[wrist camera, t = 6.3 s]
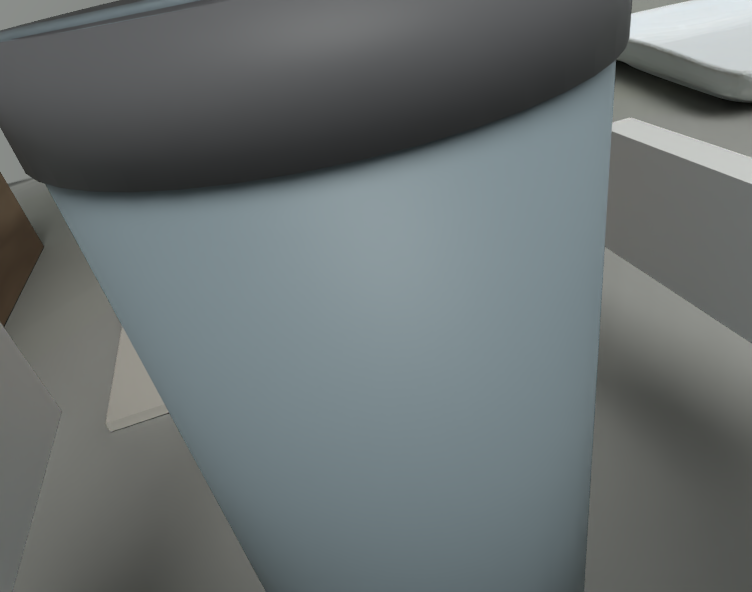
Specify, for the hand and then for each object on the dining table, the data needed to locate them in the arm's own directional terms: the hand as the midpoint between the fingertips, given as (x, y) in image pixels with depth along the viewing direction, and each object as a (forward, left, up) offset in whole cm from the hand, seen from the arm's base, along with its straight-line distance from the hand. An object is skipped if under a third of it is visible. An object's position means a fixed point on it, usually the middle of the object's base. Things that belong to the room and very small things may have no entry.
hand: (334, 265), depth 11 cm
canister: (0, -4, -7) cm, 7 cm away
